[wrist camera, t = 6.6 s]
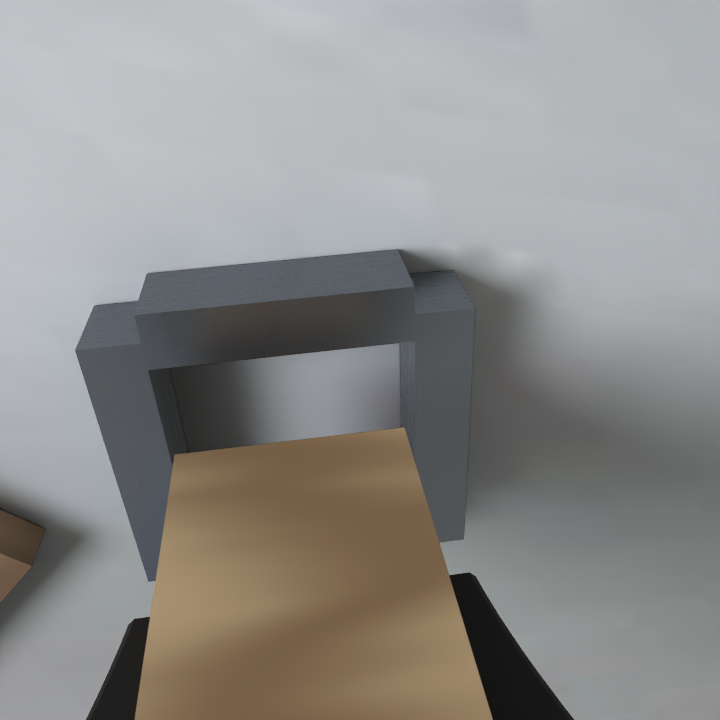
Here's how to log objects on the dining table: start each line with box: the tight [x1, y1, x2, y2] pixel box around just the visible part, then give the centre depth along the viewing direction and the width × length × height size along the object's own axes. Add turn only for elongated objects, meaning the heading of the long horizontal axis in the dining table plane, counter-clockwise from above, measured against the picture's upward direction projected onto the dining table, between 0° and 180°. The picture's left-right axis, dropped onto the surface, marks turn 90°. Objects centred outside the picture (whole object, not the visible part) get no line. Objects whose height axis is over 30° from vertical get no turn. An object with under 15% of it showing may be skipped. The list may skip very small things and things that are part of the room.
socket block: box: [75, 249, 475, 581], centre depth 15 cm, size 8×8×2 cm
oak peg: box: [135, 427, 493, 720], centre depth 10 cm, size 4×4×7 cm
